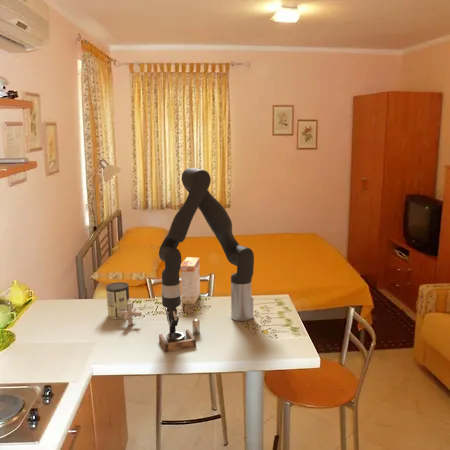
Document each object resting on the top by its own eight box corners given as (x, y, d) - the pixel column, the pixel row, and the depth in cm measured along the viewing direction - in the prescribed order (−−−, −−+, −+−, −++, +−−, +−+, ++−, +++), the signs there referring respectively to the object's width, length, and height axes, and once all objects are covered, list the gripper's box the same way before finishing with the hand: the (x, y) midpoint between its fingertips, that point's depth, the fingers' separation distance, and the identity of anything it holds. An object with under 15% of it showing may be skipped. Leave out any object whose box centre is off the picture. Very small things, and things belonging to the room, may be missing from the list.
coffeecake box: (187, 293, 248) (186, 256, 244) (200, 293, 247) (200, 257, 243) (180, 303, 234) (179, 265, 230) (195, 304, 233) (194, 265, 229)
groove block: (188, 336, 198) (188, 329, 197) (196, 346, 189) (195, 339, 188) (159, 341, 194) (158, 334, 193) (165, 352, 184) (165, 345, 184)
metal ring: (181, 337, 197) (181, 330, 196) (186, 344, 190) (186, 337, 190) (165, 340, 194) (165, 333, 194) (169, 347, 188) (169, 340, 187)
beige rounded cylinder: (198, 331, 202) (198, 318, 201) (200, 334, 200) (200, 320, 198) (191, 332, 201) (191, 319, 200) (193, 335, 199) (193, 321, 197)
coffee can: (119, 308, 228) (117, 280, 225) (135, 313, 223) (133, 284, 220) (102, 316, 220) (100, 287, 217) (119, 320, 214) (117, 291, 211)
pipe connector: (136, 329, 205) (135, 307, 203) (115, 328, 207) (113, 306, 205) (145, 320, 214) (144, 299, 212) (124, 319, 216) (123, 298, 214)
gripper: (184, 298, 188) (185, 338, 192) (176, 287, 200) (177, 326, 204) (166, 300, 186) (167, 342, 189) (158, 289, 198) (160, 328, 201)
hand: (172, 333), depth 197 cm, fingers closed
